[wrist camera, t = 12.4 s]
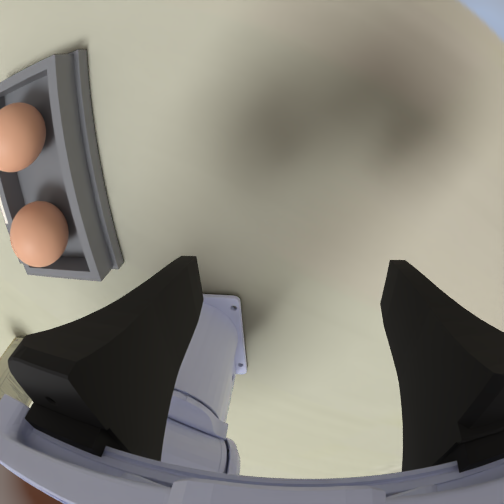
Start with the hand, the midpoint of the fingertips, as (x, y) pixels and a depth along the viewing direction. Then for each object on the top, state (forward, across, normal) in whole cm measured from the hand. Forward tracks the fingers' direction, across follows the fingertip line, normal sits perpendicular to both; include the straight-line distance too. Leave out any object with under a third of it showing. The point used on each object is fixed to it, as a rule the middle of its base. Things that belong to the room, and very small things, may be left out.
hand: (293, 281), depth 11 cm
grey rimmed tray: (+9, +20, -3) cm, 22 cm away
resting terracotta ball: (+8, +18, +1) cm, 20 cm away
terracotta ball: (+8, +18, -7) cm, 21 cm away
